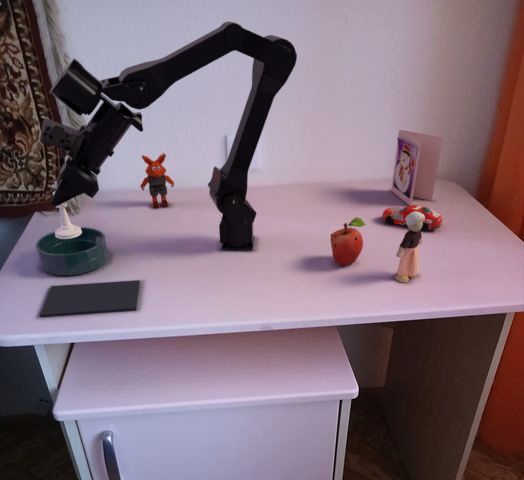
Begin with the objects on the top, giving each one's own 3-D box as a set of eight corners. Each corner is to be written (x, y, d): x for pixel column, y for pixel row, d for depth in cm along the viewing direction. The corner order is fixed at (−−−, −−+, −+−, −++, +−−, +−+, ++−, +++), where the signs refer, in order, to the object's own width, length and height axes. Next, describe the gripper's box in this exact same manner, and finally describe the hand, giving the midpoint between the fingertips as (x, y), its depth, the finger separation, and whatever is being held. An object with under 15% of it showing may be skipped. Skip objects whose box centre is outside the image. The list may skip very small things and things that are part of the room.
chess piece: (75, 239, 100) (62, 186, 94) (50, 238, 100) (36, 186, 95) (86, 228, 104) (74, 177, 98) (62, 228, 104) (48, 176, 98)
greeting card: (388, 190, 139) (395, 129, 130) (414, 188, 140) (423, 127, 131) (408, 206, 130) (417, 142, 121) (435, 203, 131) (447, 139, 122)
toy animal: (145, 212, 129) (138, 161, 122) (143, 204, 133) (135, 154, 126) (178, 208, 130) (173, 158, 123) (175, 200, 135) (169, 151, 128)
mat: (139, 282, 101) (139, 280, 100) (136, 310, 92) (135, 307, 92) (51, 288, 99) (51, 285, 99) (40, 317, 91) (39, 314, 91)
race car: (378, 223, 122) (380, 205, 120) (386, 214, 126) (388, 198, 124) (436, 234, 117) (439, 216, 114) (442, 225, 121) (446, 208, 118)
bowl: (116, 247, 113) (112, 227, 110) (97, 277, 102) (93, 255, 100) (55, 246, 113) (50, 226, 111) (31, 276, 103) (24, 254, 100)
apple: (320, 264, 106) (323, 216, 100) (336, 252, 110) (340, 204, 104) (355, 275, 102) (361, 225, 96) (371, 261, 107) (377, 213, 101)
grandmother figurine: (409, 287, 98) (420, 221, 91) (389, 281, 100) (398, 216, 92) (423, 270, 103) (434, 206, 96) (403, 265, 105) (413, 202, 98)
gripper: (61, 91, 97) (14, 159, 101) (60, 113, 82) (5, 193, 86) (114, 132, 103) (67, 195, 107) (121, 160, 89) (68, 232, 93)
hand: (52, 202), depth 98 cm, fingers closed on chess piece
